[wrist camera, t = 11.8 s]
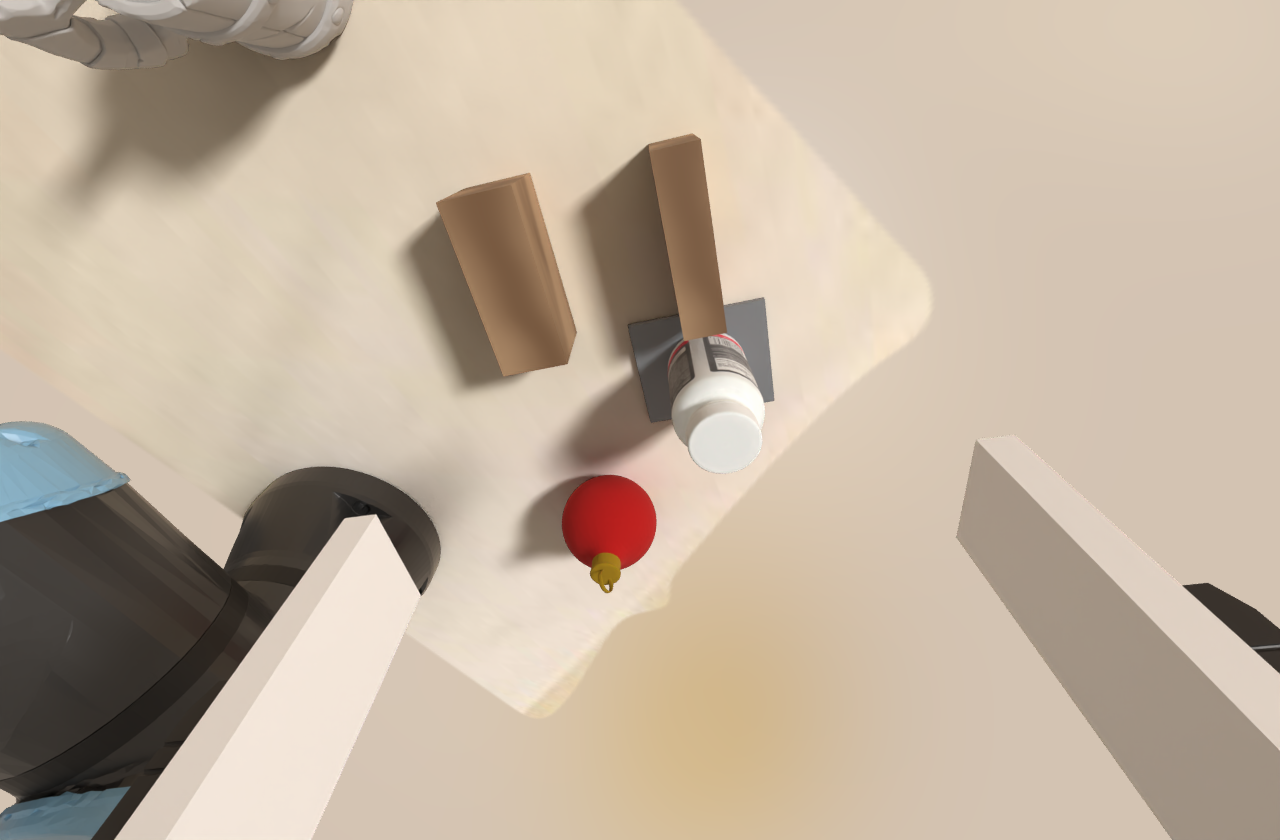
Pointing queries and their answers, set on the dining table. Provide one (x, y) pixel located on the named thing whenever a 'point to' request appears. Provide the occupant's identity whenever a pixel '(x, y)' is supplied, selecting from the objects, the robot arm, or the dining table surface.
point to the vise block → (527, 270)
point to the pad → (665, 333)
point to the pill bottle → (715, 403)
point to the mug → (172, 28)
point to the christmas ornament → (608, 526)
